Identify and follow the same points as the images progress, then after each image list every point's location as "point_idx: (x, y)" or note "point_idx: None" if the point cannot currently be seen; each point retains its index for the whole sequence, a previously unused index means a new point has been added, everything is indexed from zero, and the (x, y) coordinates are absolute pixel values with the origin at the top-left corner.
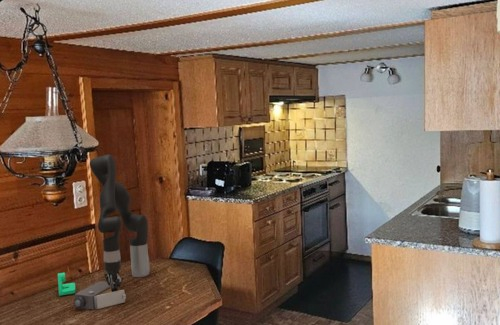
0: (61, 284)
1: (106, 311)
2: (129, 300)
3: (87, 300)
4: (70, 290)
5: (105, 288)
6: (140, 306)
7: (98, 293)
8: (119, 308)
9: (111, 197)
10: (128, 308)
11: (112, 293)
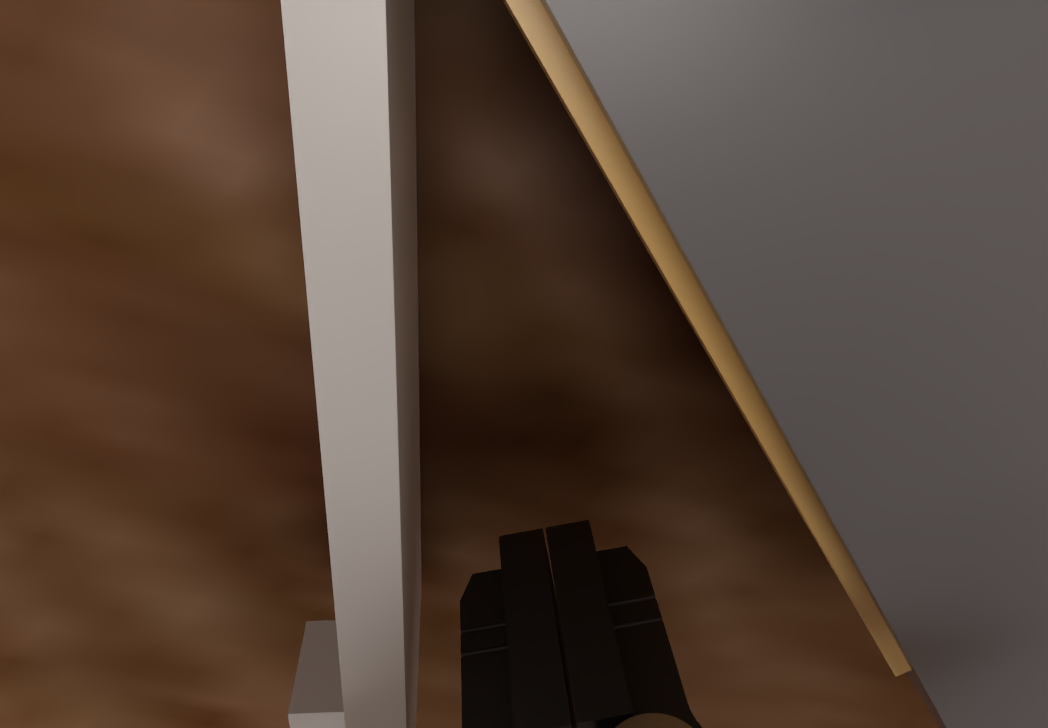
0: None
1: (60, 89)
2: (446, 653)
3: None
4: None
5: (908, 552)
6: (8, 707)
7: (635, 161)
8: (109, 408)
9: None
10: (7, 541)
11: (335, 587)
